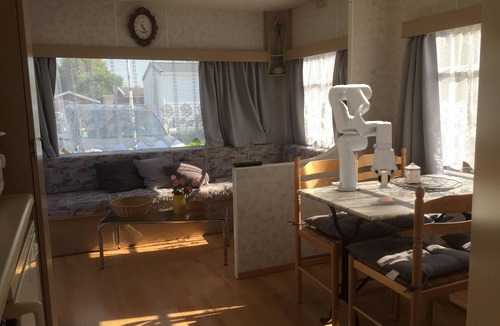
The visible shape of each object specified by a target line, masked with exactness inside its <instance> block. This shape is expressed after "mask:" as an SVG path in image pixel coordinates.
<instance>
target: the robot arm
mask: <svg viewBox="0 0 500 326" xmlns="http://www.w3.org/2000/svg"><path fill="white" fill-rule="evenodd" d="M327 95H328V96H327V98H328V99H327V100H328V103H329V106H330V108H331V110H332V113H333V119H334V122H335V126H336V131H337V132H338V133H340V134H343V135H341V136H339V137H338V138H337V148H338V149H337V150H338V156H339V157H338V158H339V181H337V182H331V186H332V187H337V190H338V191H341V192H355V191H359V190H360V188H361V187H360V186H358V183H357V182H358V177H357V175H358V174H357V170H358V168H357V157H356V155H355V154H354V151H356V152H357V151H362V150H363V151H364V150H365V149H367V147H368V145H369V144H368V143H369V142H368V137H375V144H373V145H372V148H374V151H373V152H374V153H373V163H372V166H371V167H370V170H371V171H372V172H374V173H375V174H377V177H378V178H377V181H378V183H382V179H381V171H387V172H388V183H389V184H390V182H391V175H392V174H394V172H396V171H398V170H399V169H398V166H397V165H396V156H395V149H393V147H392V146H393V145H392V144H393V129H392V128H393V126H392V123H391V122H389V121H381V120H373V121H365V120H364V118H363V117H362V115H364V114H365V113H367V112H368V111H369V110H370V109H371V104H370V102H369V101H368V100H370V99H371V98H372V95H373V92H372V89H371V87H370V86H369V85H367V84H346V85H344V84H340V85H335V86H332V87H331V88H330V89H329V91H328V94H327ZM343 101H348V102H349V104H350V106H351V107H352V109H353V111H354V113H353V115H350V113H349V109H348V107H347V105H346V104H345V103H344V102H343ZM349 133H350V134H349ZM351 133H352V134H351Z"/></svg>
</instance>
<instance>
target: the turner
mask: <svg viewBox="0 0 500 326" xmlns="http://www.w3.org/2000/svg"><path fill="white" fill-rule="evenodd" d="M381 179H382V183H380V182H377V183H376V186H377V188H378V189H379V190H391V189H393V186H392V185H391V184H390V182H389V183H388V172H387V170H381Z"/></svg>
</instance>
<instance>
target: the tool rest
mask: <svg viewBox="0 0 500 326" xmlns="http://www.w3.org/2000/svg"><path fill="white" fill-rule="evenodd" d="M389 193H390V195H391V197H393V198H414V195H413V194H412V193H410V191H406V190H405V191H404V190H403V191H400V190H399V191H397V190H396V191H389Z"/></svg>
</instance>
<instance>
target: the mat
mask: <svg viewBox="0 0 500 326" xmlns="http://www.w3.org/2000/svg"><path fill="white" fill-rule="evenodd" d="M370 206H371V207H377V206H378V207H381V206H382V207H383V206H389V207H391V206H395V207H396V206H397V207H398V206H404V207H405V206H406V204H405V203H394V204H381V203H370Z"/></svg>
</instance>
